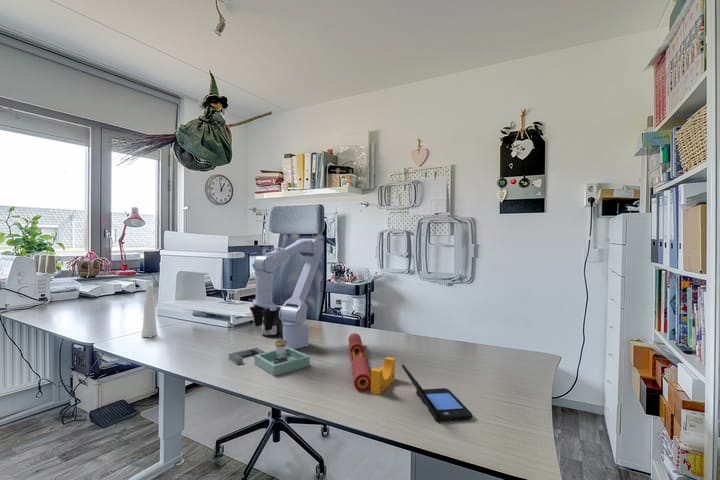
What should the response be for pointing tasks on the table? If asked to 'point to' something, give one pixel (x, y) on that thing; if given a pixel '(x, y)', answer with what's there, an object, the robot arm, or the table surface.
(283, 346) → the glass jar
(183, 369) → the table surface
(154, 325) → the cosmetic bottle
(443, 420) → the black handheld device
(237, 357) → the bracket
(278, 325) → the ink bottle
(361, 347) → the blood vessel
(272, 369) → the tray
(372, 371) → the pipe clamp
